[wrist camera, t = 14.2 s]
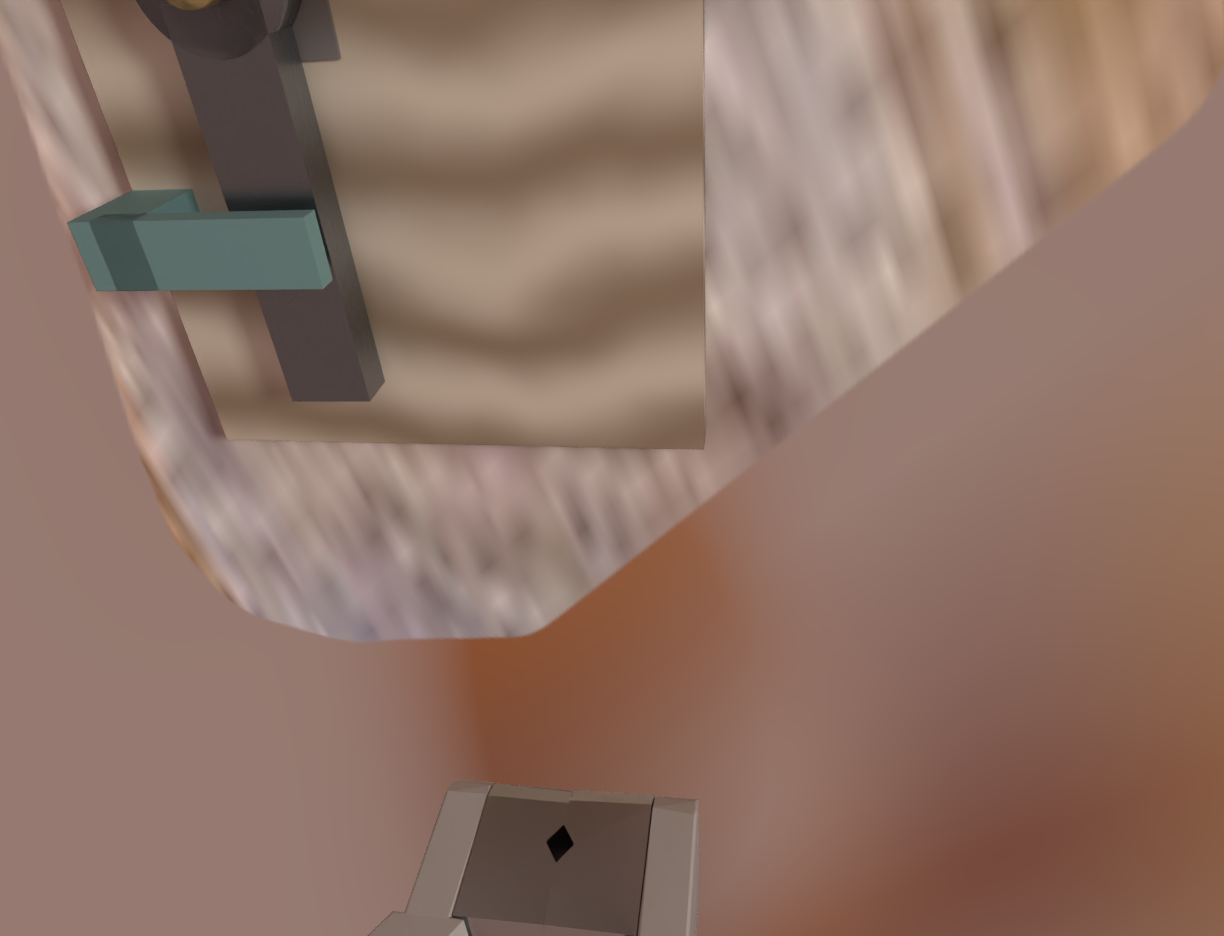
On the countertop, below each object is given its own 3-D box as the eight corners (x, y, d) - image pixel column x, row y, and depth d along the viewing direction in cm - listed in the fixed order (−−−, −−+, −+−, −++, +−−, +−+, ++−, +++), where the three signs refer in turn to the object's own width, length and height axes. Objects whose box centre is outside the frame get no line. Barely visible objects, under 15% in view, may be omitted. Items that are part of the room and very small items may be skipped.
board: (-5, -246, 31) (-41, -252, 30) (702, -329, 27) (700, -341, 26) (240, 425, 47) (225, 441, 46) (705, 433, 43) (703, 451, 42)
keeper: (132, 190, 39) (66, 222, 35) (348, 184, 37) (303, 217, 33) (156, 253, 40) (96, 290, 37) (363, 250, 39) (322, 289, 35)
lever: (124, -124, 31) (66, -125, 28) (275, -141, 30) (229, -143, 27) (291, 381, 43) (261, 414, 40) (404, 381, 42) (380, 414, 39)
